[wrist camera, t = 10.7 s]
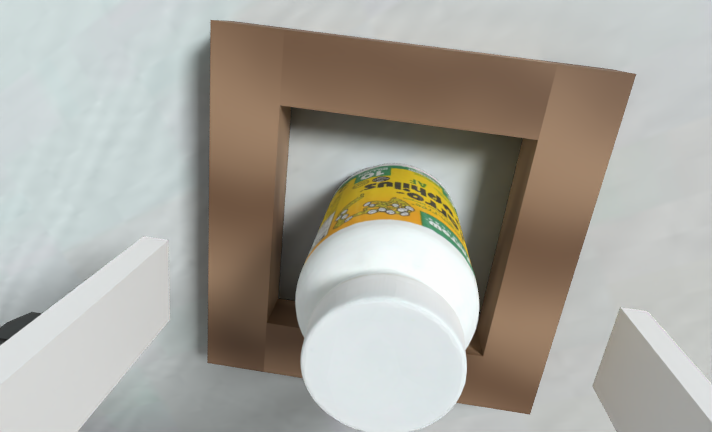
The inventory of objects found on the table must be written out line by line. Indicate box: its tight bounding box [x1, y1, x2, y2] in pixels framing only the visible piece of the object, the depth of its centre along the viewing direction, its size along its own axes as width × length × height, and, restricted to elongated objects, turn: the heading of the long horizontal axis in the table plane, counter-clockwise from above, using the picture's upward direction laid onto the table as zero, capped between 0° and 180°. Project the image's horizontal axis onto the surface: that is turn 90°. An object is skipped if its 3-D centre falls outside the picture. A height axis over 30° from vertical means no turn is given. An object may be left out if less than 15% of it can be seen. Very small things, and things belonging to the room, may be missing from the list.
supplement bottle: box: [295, 163, 479, 432], centre depth 16 cm, size 5×5×10 cm
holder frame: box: [208, 20, 636, 414], centre depth 20 cm, size 14×14×2 cm
